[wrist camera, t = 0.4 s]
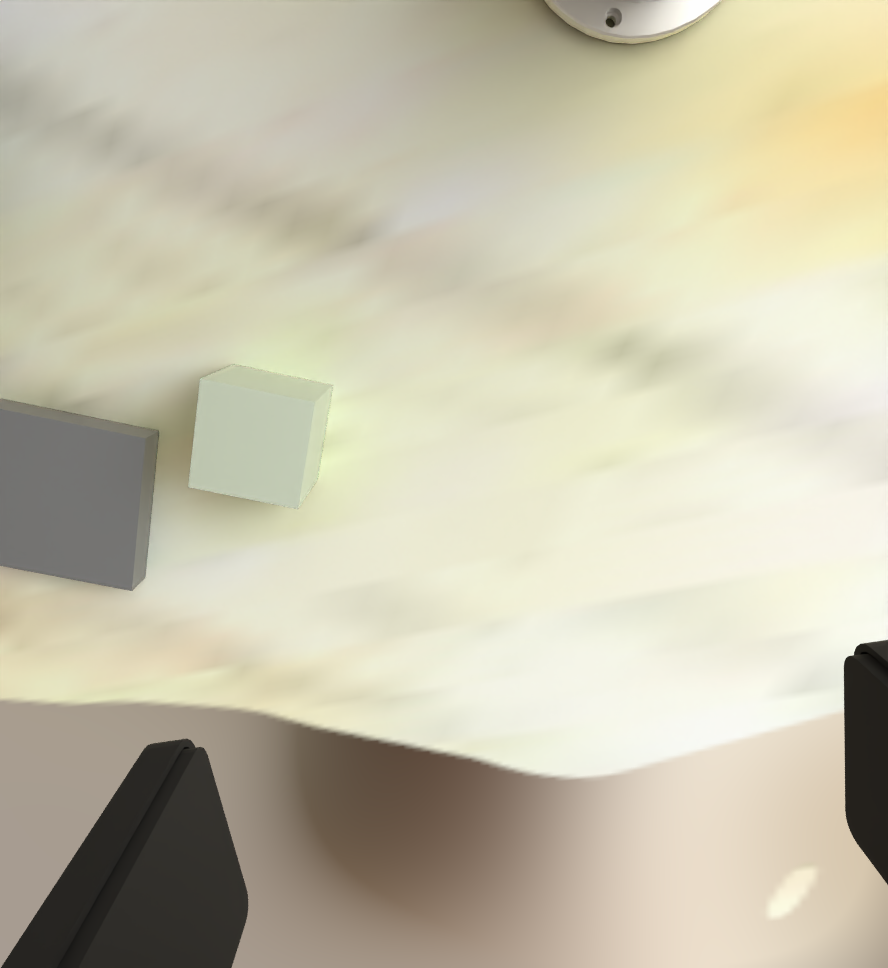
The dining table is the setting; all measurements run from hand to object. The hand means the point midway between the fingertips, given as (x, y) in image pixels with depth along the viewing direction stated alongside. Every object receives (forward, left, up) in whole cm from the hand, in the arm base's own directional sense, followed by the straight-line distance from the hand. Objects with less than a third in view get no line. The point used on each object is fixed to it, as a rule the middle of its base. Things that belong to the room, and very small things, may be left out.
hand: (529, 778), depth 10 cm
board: (+11, -30, -34) cm, 46 cm away
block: (+4, -11, -34) cm, 36 cm away
